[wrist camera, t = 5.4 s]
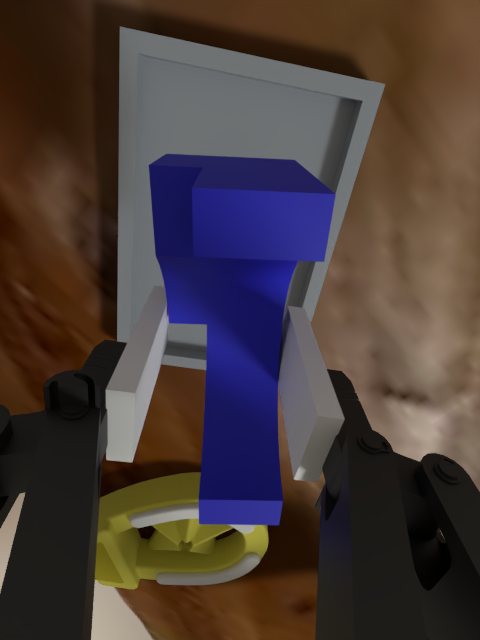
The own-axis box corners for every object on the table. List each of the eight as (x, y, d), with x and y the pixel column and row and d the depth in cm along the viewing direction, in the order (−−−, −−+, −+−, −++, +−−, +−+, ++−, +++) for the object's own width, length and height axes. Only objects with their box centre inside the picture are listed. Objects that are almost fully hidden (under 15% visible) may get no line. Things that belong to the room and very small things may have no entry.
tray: (289, 367, 33) (292, 381, 31) (123, 345, 32) (116, 358, 30) (373, 86, 22) (385, 84, 21) (129, 34, 21) (119, 26, 19)
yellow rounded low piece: (78, 480, 41) (60, 523, 37) (259, 463, 40) (262, 505, 36) (119, 557, 49) (108, 600, 45) (271, 545, 48) (274, 588, 44)
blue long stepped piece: (166, 153, 13) (118, 184, 7) (294, 159, 13) (336, 194, 8) (179, 408, 19) (158, 523, 13) (266, 410, 19) (278, 525, 14)
